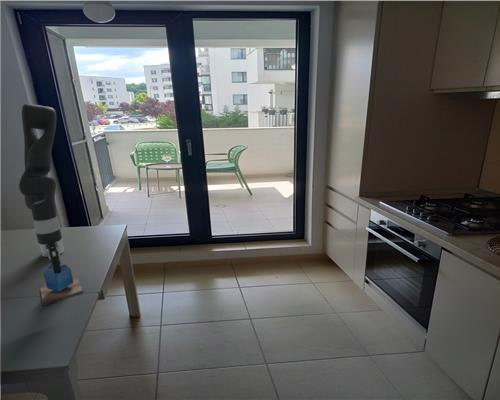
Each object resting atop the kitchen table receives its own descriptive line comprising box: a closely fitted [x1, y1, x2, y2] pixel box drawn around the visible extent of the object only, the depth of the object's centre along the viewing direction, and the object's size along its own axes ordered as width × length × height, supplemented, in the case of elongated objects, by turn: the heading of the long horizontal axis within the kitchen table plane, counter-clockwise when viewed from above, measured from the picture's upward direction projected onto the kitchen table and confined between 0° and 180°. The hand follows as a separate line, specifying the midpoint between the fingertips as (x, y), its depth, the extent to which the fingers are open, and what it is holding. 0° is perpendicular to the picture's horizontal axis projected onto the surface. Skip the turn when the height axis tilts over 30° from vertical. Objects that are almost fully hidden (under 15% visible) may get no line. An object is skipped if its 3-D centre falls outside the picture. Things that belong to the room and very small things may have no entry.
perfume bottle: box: [43, 258, 73, 291], centre depth 114 cm, size 6×6×12 cm
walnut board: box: [39, 276, 84, 306], centre depth 116 cm, size 13×13×1 cm
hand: (56, 269), depth 114 cm, fingers closed on perfume bottle, 5 cm apart
